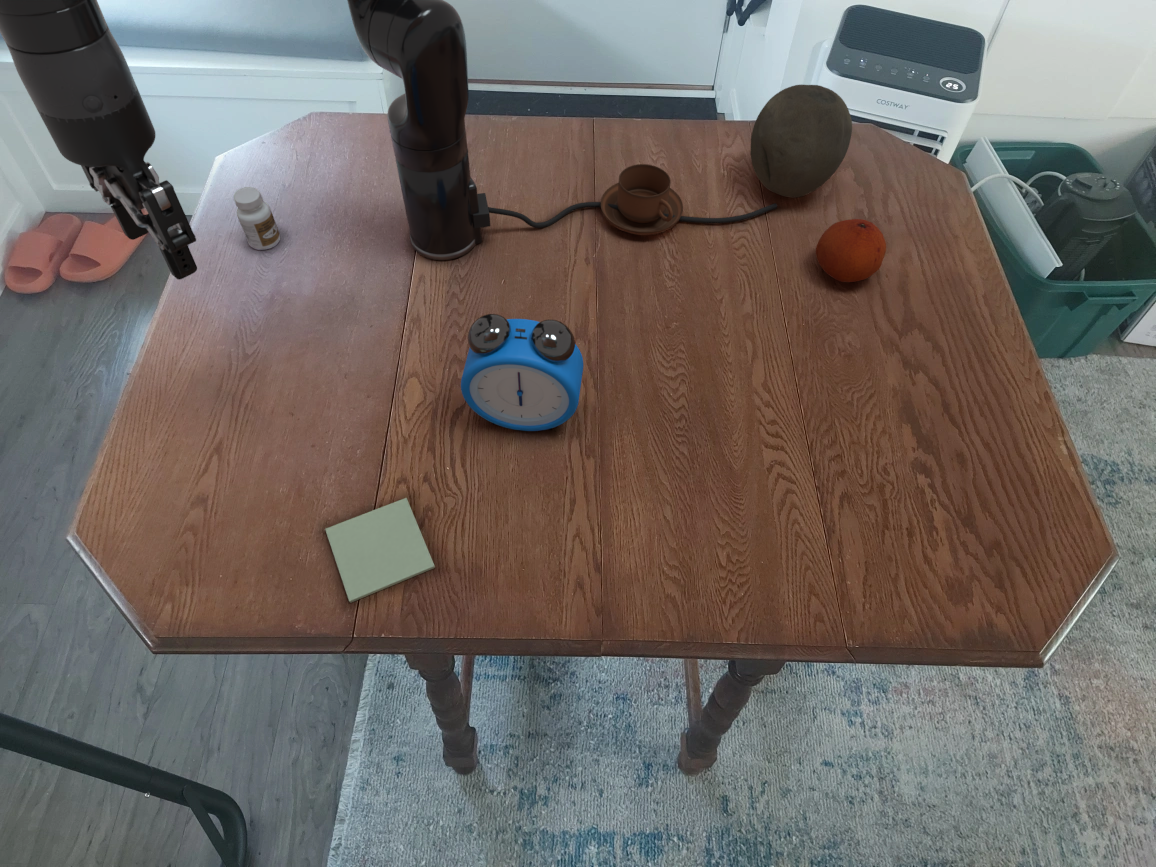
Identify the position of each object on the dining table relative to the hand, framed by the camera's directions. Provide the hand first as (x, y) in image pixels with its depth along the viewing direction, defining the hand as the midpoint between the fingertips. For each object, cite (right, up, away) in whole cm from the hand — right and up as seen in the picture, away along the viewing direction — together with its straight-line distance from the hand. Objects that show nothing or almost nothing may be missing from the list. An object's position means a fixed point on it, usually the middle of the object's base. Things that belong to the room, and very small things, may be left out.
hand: (161, 254), depth 73 cm
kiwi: (+72, +21, +43) cm, 87 cm away
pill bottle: (-4, +10, +33) cm, 35 cm away
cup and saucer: (+50, +15, +38) cm, 64 cm away
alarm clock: (+34, -15, +17) cm, 41 cm away
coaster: (+20, -30, +6) cm, 36 cm away
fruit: (+77, +5, +33) cm, 84 cm away
